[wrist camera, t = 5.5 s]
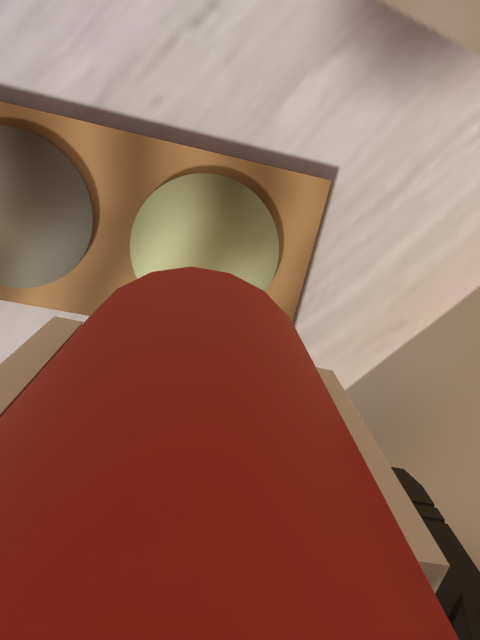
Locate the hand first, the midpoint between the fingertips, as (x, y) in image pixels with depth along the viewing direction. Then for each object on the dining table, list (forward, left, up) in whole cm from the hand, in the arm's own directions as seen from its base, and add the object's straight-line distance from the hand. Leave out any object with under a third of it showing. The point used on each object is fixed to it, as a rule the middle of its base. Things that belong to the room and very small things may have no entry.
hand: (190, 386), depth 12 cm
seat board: (-6, +1, -17) cm, 19 cm away
